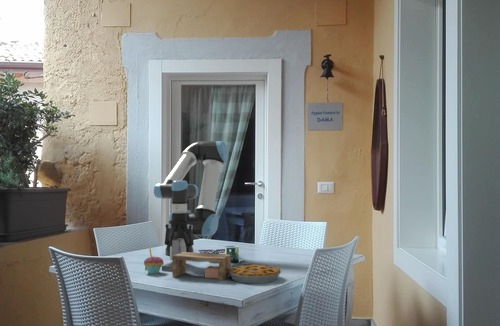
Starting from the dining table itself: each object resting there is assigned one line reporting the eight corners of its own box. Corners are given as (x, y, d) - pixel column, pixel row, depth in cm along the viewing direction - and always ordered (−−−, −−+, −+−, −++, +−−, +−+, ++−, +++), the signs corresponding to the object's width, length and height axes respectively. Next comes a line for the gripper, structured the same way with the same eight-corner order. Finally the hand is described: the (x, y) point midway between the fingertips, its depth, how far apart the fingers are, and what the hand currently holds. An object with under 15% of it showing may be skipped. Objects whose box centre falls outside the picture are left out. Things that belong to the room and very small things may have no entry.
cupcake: (144, 275, 229) (144, 247, 230) (143, 271, 238) (143, 244, 238) (164, 274, 232) (164, 246, 232) (162, 270, 240) (162, 243, 240)
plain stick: (151, 265, 254) (151, 260, 254) (157, 265, 253) (157, 260, 254) (145, 270, 242) (145, 264, 242) (150, 270, 242) (150, 264, 242)
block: (209, 275, 231) (209, 265, 231) (222, 275, 230) (222, 266, 230) (205, 277, 226) (205, 268, 226) (218, 278, 224) (218, 269, 224)
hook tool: (178, 262, 260) (179, 238, 261) (195, 263, 258) (195, 238, 258) (160, 270, 240) (160, 243, 240) (177, 271, 238) (178, 244, 238)
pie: (251, 271, 239) (251, 260, 239) (291, 278, 225) (291, 266, 225) (218, 279, 222) (218, 267, 222) (259, 287, 208) (259, 274, 208)
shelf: (182, 272, 236) (182, 251, 236) (230, 275, 230) (230, 254, 230) (172, 276, 226) (172, 255, 226) (222, 280, 219) (222, 258, 219)
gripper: (157, 212, 256) (156, 260, 255) (195, 213, 250) (195, 262, 250) (164, 211, 263) (163, 257, 263) (201, 212, 257) (200, 259, 257)
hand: (178, 259), depth 256 cm, fingers open, 7 cm apart
